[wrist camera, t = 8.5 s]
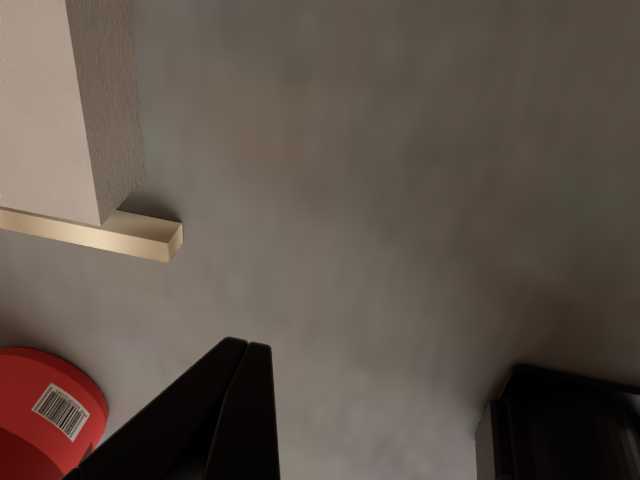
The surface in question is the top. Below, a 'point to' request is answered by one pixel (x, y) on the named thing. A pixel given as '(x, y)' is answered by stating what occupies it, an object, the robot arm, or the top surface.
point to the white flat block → (68, 108)
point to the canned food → (46, 415)
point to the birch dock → (103, 232)
